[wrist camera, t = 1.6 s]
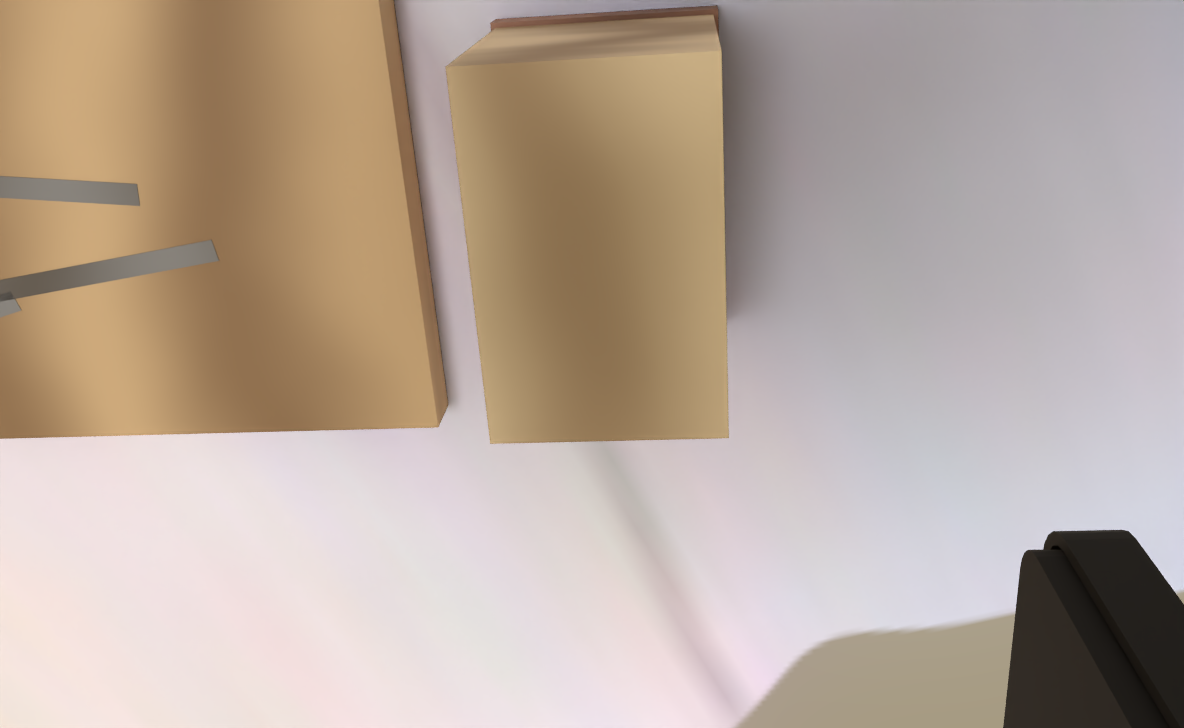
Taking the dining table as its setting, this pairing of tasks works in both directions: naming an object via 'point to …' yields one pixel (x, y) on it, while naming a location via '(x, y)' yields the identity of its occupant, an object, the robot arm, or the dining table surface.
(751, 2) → the dining table surface
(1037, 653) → the robot arm
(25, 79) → the board
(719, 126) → the block
